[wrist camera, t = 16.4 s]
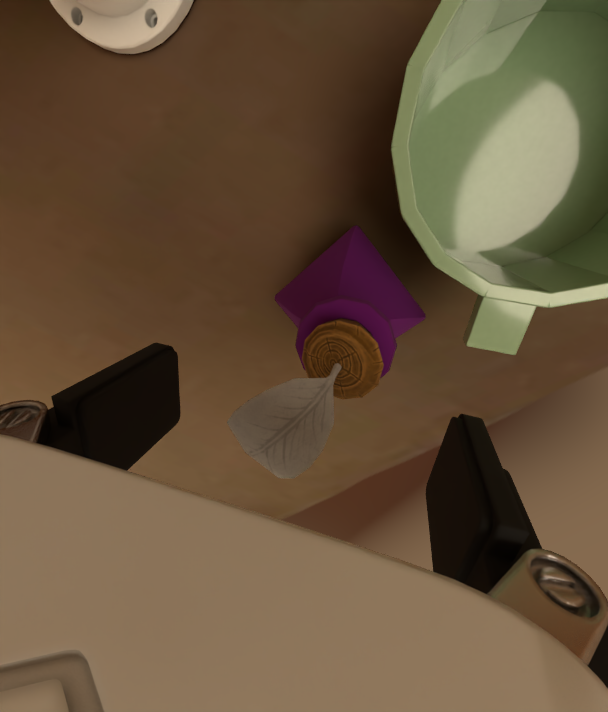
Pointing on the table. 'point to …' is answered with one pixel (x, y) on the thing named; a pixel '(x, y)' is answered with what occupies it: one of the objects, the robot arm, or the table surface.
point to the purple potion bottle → (328, 352)
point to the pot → (509, 156)
